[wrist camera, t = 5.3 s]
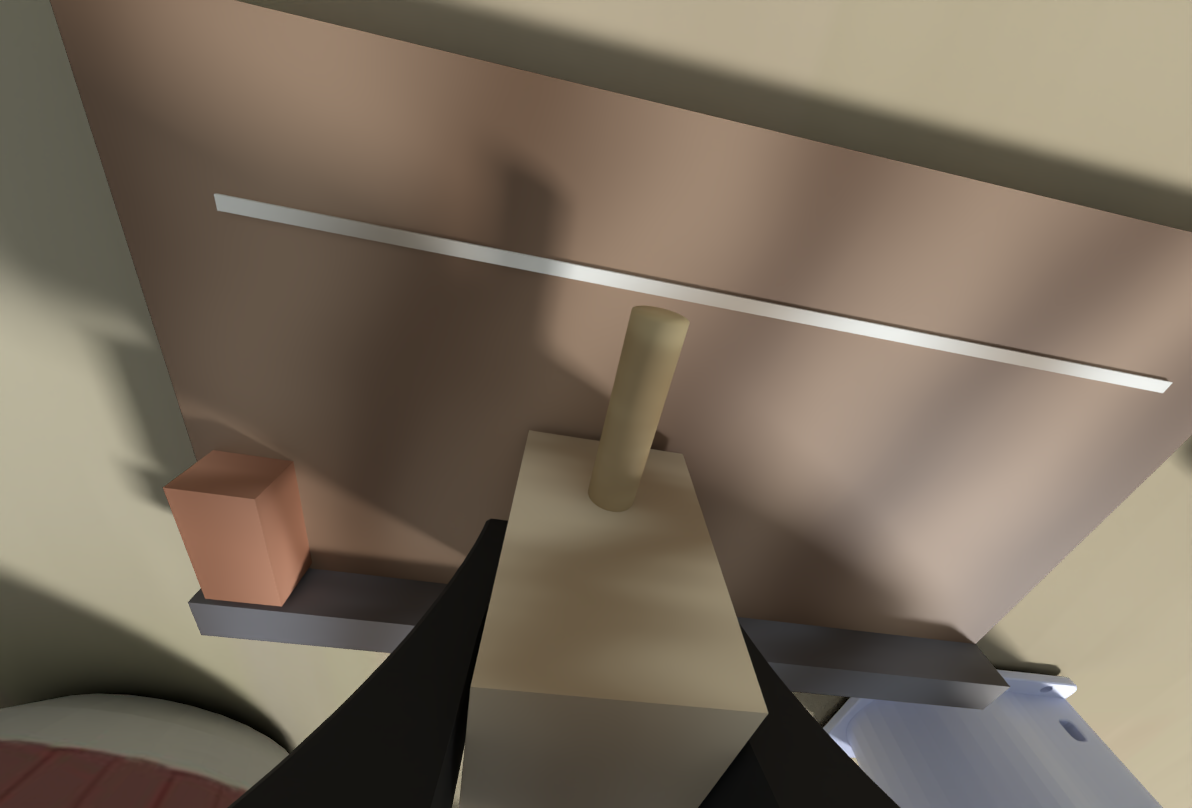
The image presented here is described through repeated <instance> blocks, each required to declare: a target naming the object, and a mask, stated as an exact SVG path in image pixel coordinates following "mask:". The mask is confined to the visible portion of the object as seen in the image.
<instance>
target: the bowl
mask: <svg viewBox="0 0 1192 808" xmlns="http://www.w3.org/2000/svg"><path fill="white" fill-rule="evenodd" d="M288 755H289V753H288V752H287V751H286V750H285V749H284V748H282V747H281V746H280V745H278V744H277V743H276V742H274V741H273V740H272V739H270V738H269V737H267V736H265V735H264V734H262V733H260V732H258V731H256V730H254V729H253V728H251V727H249V726H247V725H245V724H242V723H240V722H237V721H235V720H232V719H230V718H228V717H225V716H223V715H220V714H217V713H213V712H210V711H207V710H204V709H200V708H197V707H194V706H190V705H185V704H181V703H176V702H172V701H167V700H163V699H156V698H149V697H141V696H134V695H119V694H85V695H70V696H65V697H60V698H55V699H49V700H44V701H39V702H33V703H28V704H23V705H18V706H12V707H7V708H2V709H0V808H227V807H229V806H230V805H231V804H232V803H233V802H235V801H236V800H237V799H238V798H239V797H240V796H242V795H243V794H244V793H245V792H246V791H247V790H249V789H250V788H251V787H252V786H253V785H254V784H256V783H257V782H258V781H259V780H260V779H262V778H263V777H264V776H265V775H266V774H267V773H269V772H270V771H271V770H272V769H273V768H274V767H275V766H277V765H278V764H279V763H280V762H281V761H282V760H283V759H284V758H286V757H287V756H288Z"/></svg>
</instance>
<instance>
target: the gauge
mask: <svg viewBox="0 0 1192 808" xmlns="http://www.w3.org/2000/svg"><path fill="white" fill-rule="evenodd" d="M689 323H690V322H689V320H688V319H687V318H685V317H684V316H682V315H680V314H678V313H675V312H673V311H670V310H667V309H663V308H659V307H653V306H634V307H633V308H632V310H631V314H630V318H629V322H628V327H627V331H626V335H625V339H624V343H623V347H622V352H621V356H620V360H619V364H618V368H617V372H616V376H615V381H614V385H613V389H612V393H611V397H610V401H609V406H608V410H607V414H606V418H605V422H604V426H603V431H602V435H601V439H600V441H596V440H589V439H583V438H576V437H570V436H563V435H557V434H551V433H544V432H538V431H531V430H529V433H528V437H527V441H526V446H525V450H524V455H523V459H522V463H521V468H520V472H519V477H518V481H517V485H516V490H515V494H514V498H513V503H512V507H511V512H510V516H509V520H508V525H507V529H506V533H505V538H504V542H503V547H502V551H501V555H500V560H499V564H498V569H497V573H496V577H495V582H494V586H493V590H492V595H491V599H490V604H489V608H488V612H487V617H486V621H485V626H484V630H483V634H482V639H481V643H480V647H479V652H478V656H477V661H476V665H475V669H474V674H473V678H472V683H471V687H470V697H469V708H468V718H467V729H466V739H465V749H464V760H463V770H462V781H461V791H460V801H459V808H698V807H699V806H700V804H701V803H702V802H703V800H704V799H705V798H706V796H707V795H708V794H709V792H710V791H711V790H712V788H713V787H714V786H715V784H716V783H717V782H718V780H719V779H720V777H721V776H722V775H723V773H724V772H725V771H726V769H727V768H728V767H729V765H730V764H731V763H732V761H733V760H734V759H735V757H736V756H737V755H738V753H739V752H740V751H741V749H742V748H743V747H744V745H745V744H746V743H747V741H748V740H749V739H750V737H751V736H752V735H753V733H754V732H755V731H756V729H757V728H758V727H759V725H760V724H761V723H762V721H763V720H764V719H765V717H766V716H767V715H768V710H767V707H766V704H765V701H764V698H763V695H762V692H761V689H760V686H759V683H758V680H757V677H756V674H755V671H754V668H753V665H752V662H751V659H750V656H749V653H748V650H747V647H746V644H745V641H744V638H743V635H742V632H741V629H740V626H739V623H738V620H737V617H736V614H735V610H734V607H733V604H732V601H731V598H730V595H729V592H728V589H727V586H726V583H725V580H724V577H723V574H722V571H721V568H720V565H719V562H718V559H717V556H716V553H715V550H714V547H713V544H712V541H711V538H710V535H709V532H708V529H707V526H706V523H705V520H704V517H703V514H702V511H701V508H700V505H699V502H698V499H697V496H696V493H695V489H694V486H693V483H692V480H691V477H690V474H689V471H688V468H687V465H686V462H685V459H684V456H683V454H680V453H673V452H667V451H660V450H654V449H650V448H651V445H652V442H653V439H654V436H655V432H656V429H657V426H658V423H659V420H660V416H661V413H662V410H663V407H664V404H665V400H666V397H667V394H668V391H669V388H670V384H671V381H672V378H673V375H674V372H675V368H676V365H677V362H678V359H679V356H680V352H681V349H682V346H683V343H684V339H685V336H686V333H687V330H688V327H689Z"/></svg>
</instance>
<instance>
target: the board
mask: <svg viewBox="0 0 1192 808" xmlns="http://www.w3.org/2000/svg"><path fill="white" fill-rule="evenodd" d="M50 3H51V6H52V9H53V12H54V15H55V18H56V21H57V24H58V28H59V31H60V34H61V37H62V40H63V43H64V46H65V50H66V53H67V56H68V59H69V62H70V65H71V68H72V71H73V75H74V78H75V81H76V84H77V87H78V90H79V93H80V97H81V100H82V103H83V106H84V109H85V112H86V115H87V118H88V122H89V125H90V128H91V131H92V134H93V137H94V140H95V144H96V147H97V150H98V153H99V156H100V159H101V162H102V165H103V169H104V172H105V175H106V178H107V181H108V184H109V187H110V191H111V194H112V197H113V200H114V203H115V206H116V209H117V212H118V216H119V219H120V222H121V225H122V228H123V231H124V234H125V238H126V241H127V244H128V247H129V250H130V253H131V256H132V259H133V263H134V266H135V269H136V272H137V275H138V278H139V281H140V285H141V288H142V291H143V294H144V297H145V300H146V303H147V306H148V310H149V313H150V316H151V319H152V322H153V325H154V328H155V332H156V335H157V338H158V341H159V344H160V347H161V350H162V353H163V357H164V360H165V363H166V366H167V369H168V372H169V375H170V379H171V382H172V385H173V388H174V391H175V394H176V397H177V400H178V404H179V407H180V410H181V413H182V416H183V419H184V422H185V426H186V429H187V432H188V435H189V438H190V441H191V444H192V447H193V451H194V454H195V457H196V460H197V462H196V463H195V464H194V465H192V466H191V467H190V468H188V469H187V470H186V471H184V472H183V473H182V474H180V475H179V476H178V477H176V478H175V479H174V480H172V481H171V482H170V483H168V484H167V485H166V486H164V487H163V489H164V492H165V495H166V497H167V500H168V503H169V505H170V508H171V510H172V513H173V516H174V518H175V521H176V524H177V526H178V529H179V531H180V534H181V537H182V539H183V542H184V545H185V547H186V550H187V552H188V555H189V558H190V560H191V563H192V566H193V568H194V571H195V573H196V576H197V579H198V581H199V584H200V587H201V589H200V590H199V591H198V592H197V593H196V594H195V595H194V596H193V597H192V598H191V600H190V601H189V602H188V604H189V606H190V609H191V611H192V614H193V616H194V618H195V621H196V623H197V626H198V628H199V630H200V633H201V635H208V636H218V637H228V638H239V639H249V640H260V641H270V642H281V643H291V644H302V645H312V646H322V647H333V648H343V649H354V650H364V651H375V652H385V653H392V652H393V651H394V650H395V648H396V647H397V646H398V645H399V644H400V643H401V642H402V641H403V639H404V638H405V637H406V636H407V635H408V634H409V632H410V631H411V630H412V629H413V628H414V627H415V625H416V624H417V623H418V622H419V620H420V619H421V618H422V617H423V615H424V614H425V613H426V612H427V610H428V609H429V608H430V606H431V605H432V604H433V603H434V601H435V600H436V599H437V598H438V596H439V595H440V594H441V592H442V591H443V590H444V588H445V587H446V586H447V584H448V583H449V581H450V580H451V578H452V577H453V576H454V574H455V573H456V571H457V570H458V568H459V567H460V566H461V564H462V563H463V561H464V560H465V558H466V556H467V555H468V553H469V552H470V550H471V549H472V547H473V545H474V544H475V542H476V540H477V538H478V537H479V535H480V533H481V531H482V529H483V527H484V525H485V522H486V521H487V520H489V519H491V518H492V519H500V520H507V521H508V520H509V516H510V512H511V507H512V503H513V498H514V494H515V490H516V485H517V481H518V477H519V472H520V468H521V463H522V459H523V455H524V450H525V446H526V441H527V437H528V433H529V430H531V431H538V432H544V433H551V434H557V435H563V436H570V437H576V438H583V439H589V440H596V441H600V439H601V435H602V431H603V426H604V422H605V418H606V414H607V410H608V406H609V401H610V397H611V393H612V389H613V385H614V381H615V376H616V372H617V368H618V364H619V360H620V356H621V352H622V347H623V343H624V339H625V335H626V331H627V327H628V322H629V318H630V314H631V310H632V308H633V307H634V306H653V307H659V308H663V309H667V310H670V311H673V312H675V313H678V314H680V315H682V316H684V317H685V318H687V319H688V320H689V322H690V323H689V327H688V330H687V333H686V336H685V339H684V343H683V346H682V349H681V352H680V356H679V359H678V362H677V365H676V368H675V372H674V375H673V378H672V381H671V384H670V388H669V391H668V394H667V397H666V400H665V404H664V407H663V410H662V413H661V416H660V420H659V423H658V426H657V429H656V432H655V436H654V439H653V442H652V445H651V448H650V449H654V450H660V451H667V452H673V453H680V454H683V456H684V459H685V462H686V465H687V468H688V471H689V474H690V477H691V480H692V483H693V486H694V489H695V493H696V496H697V499H698V502H699V505H700V508H701V511H702V514H703V517H704V520H705V523H706V526H707V529H708V532H709V535H710V538H711V541H712V544H713V547H714V550H715V553H716V556H717V559H718V562H719V565H720V568H721V571H722V574H723V577H724V580H725V583H726V586H727V589H728V592H729V595H730V598H731V601H732V604H733V607H734V610H735V614H736V617H737V620H738V621H739V623H740V624H741V626H742V627H743V629H744V630H745V632H746V633H747V634H748V636H749V637H750V639H751V640H752V642H753V643H754V644H755V646H756V647H757V648H758V650H759V651H760V652H761V654H762V655H763V657H764V658H765V659H766V661H767V662H768V663H769V665H770V666H771V667H772V669H773V670H774V671H775V672H776V674H777V675H778V676H779V678H780V679H781V680H782V681H783V682H784V684H785V685H786V686H787V687H788V688H789V690H790V691H792V692H803V693H813V694H824V695H834V696H845V697H855V698H866V699H876V700H886V701H897V702H907V703H918V704H928V705H939V706H949V707H960V708H970V709H980V710H984V709H985V708H986V707H987V706H988V705H989V704H991V703H992V702H993V701H994V700H995V699H997V698H998V697H999V696H1000V695H1001V694H1003V693H1004V692H1005V691H1006V690H1007V689H1009V688H1010V686H1009V685H1008V683H1007V682H1006V681H1005V680H1004V678H1003V677H1002V676H1001V675H1000V673H999V672H998V671H997V670H996V669H995V667H994V666H993V665H992V664H991V662H990V661H989V660H988V659H987V658H986V656H985V655H984V654H983V653H982V651H981V650H980V649H979V648H978V646H977V645H976V643H977V642H978V641H979V640H980V639H981V638H982V637H983V636H984V635H985V634H986V633H987V632H988V631H990V630H991V629H992V628H993V627H994V626H995V625H996V624H997V623H998V622H999V621H1000V620H1001V619H1002V618H1003V617H1004V616H1005V615H1006V614H1007V613H1008V612H1009V611H1010V610H1011V609H1012V608H1013V607H1014V606H1015V605H1016V604H1017V603H1018V602H1020V601H1021V600H1022V599H1023V598H1024V597H1025V596H1026V595H1027V594H1028V593H1029V592H1030V591H1031V590H1032V589H1033V588H1034V587H1035V586H1036V585H1037V584H1038V583H1039V582H1040V581H1041V580H1042V579H1043V578H1044V577H1045V576H1046V575H1047V574H1049V573H1050V572H1051V571H1052V570H1053V569H1054V568H1055V567H1056V566H1057V565H1058V564H1059V563H1060V562H1061V561H1062V560H1063V559H1064V558H1065V557H1066V556H1067V555H1068V554H1069V553H1070V552H1071V551H1072V550H1073V549H1074V548H1075V547H1076V546H1077V545H1079V544H1080V543H1081V542H1082V541H1083V540H1084V539H1085V538H1086V537H1087V536H1088V535H1089V534H1090V533H1091V532H1092V531H1093V530H1094V529H1095V528H1096V527H1097V526H1098V525H1099V524H1100V523H1101V522H1102V521H1103V520H1104V519H1105V518H1106V517H1108V516H1109V515H1110V514H1111V513H1112V512H1113V511H1114V510H1115V509H1116V508H1117V507H1118V506H1119V505H1120V504H1121V503H1122V502H1123V501H1124V500H1125V499H1126V498H1127V497H1128V496H1129V495H1130V494H1131V493H1132V492H1133V491H1134V490H1135V489H1136V488H1138V487H1139V486H1140V485H1141V484H1142V483H1143V482H1144V481H1145V480H1146V479H1147V478H1148V477H1149V476H1150V475H1151V474H1152V473H1153V472H1154V471H1155V470H1156V469H1157V468H1158V467H1159V466H1160V465H1161V464H1162V463H1163V462H1164V461H1165V460H1167V459H1168V458H1169V457H1170V456H1171V455H1172V454H1173V453H1174V452H1175V451H1176V450H1177V449H1178V448H1179V447H1180V446H1181V445H1182V444H1183V443H1184V442H1185V441H1186V440H1187V439H1188V438H1189V437H1190V436H1191V435H1192V232H1189V231H1184V230H1180V229H1176V228H1172V227H1168V226H1164V225H1160V224H1156V223H1151V222H1147V221H1143V220H1139V219H1135V218H1131V217H1127V216H1123V215H1118V214H1114V213H1110V212H1106V211H1102V210H1098V209H1094V208H1090V207H1085V206H1081V205H1077V204H1073V203H1069V202H1065V201H1061V200H1057V199H1052V198H1048V197H1044V196H1040V195H1036V194H1032V193H1028V192H1024V191H1019V190H1015V189H1011V188H1007V187H1003V186H999V185H995V184H991V183H986V182H982V181H978V180H974V179H970V178H966V177H962V176H958V175H953V174H949V173H945V172H941V171H937V170H933V169H929V168H925V167H920V166H916V165H912V164H908V163H904V162H900V161H896V160H892V159H887V158H883V157H879V156H875V155H871V154H867V153H863V152H859V151H854V150H850V149H846V148H842V147H838V146H834V145H830V144H826V143H821V142H817V141H813V140H809V139H805V138H801V137H797V136H793V135H788V134H784V133H780V132H776V131H772V130H768V129H764V128H760V127H755V126H751V125H747V124H743V123H739V122H735V121H731V120H727V119H722V118H718V117H714V116H710V115H706V114H702V113H698V112H694V111H689V110H685V109H681V108H677V107H673V106H669V105H665V104H661V103H656V102H652V101H648V100H644V99H640V98H636V97H632V96H628V95H624V94H619V93H615V92H611V91H607V90H603V89H599V88H595V87H591V86H586V85H582V84H578V83H574V82H570V81H566V80H562V79H558V78H553V77H549V76H545V75H541V74H537V73H533V72H529V71H525V70H520V69H516V68H512V67H508V66H504V65H500V64H496V63H492V62H487V61H483V60H479V59H475V58H471V57H467V56H463V55H459V54H454V53H450V52H446V51H442V50H438V49H434V48H430V47H426V46H421V45H417V44H413V43H409V42H405V41H401V40H397V39H393V38H388V37H384V36H380V35H376V34H372V33H368V32H364V31H360V30H355V29H351V28H347V27H343V26H339V25H335V24H331V23H327V22H322V21H318V20H314V19H310V18H306V17H302V16H298V15H294V14H289V13H285V12H281V11H277V10H273V9H269V8H265V7H261V6H256V5H252V4H248V3H244V2H240V1H236V0H50Z"/></svg>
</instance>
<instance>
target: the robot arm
mask: <svg viewBox="0 0 1192 808" xmlns="http://www.w3.org/2000/svg"><path fill="white" fill-rule="evenodd" d="M507 525H508V521H507V520H500V519H492V518H491V519H489V520H487V521H486V522H485V525H484V527H483V529H482V531H481V533H480V535H479V537H478V538H477V540H476V542H475V544H474V545H473V547H472V549H471V550H470V552H469V553H468V555H467V556H466V558H465V560H464V561H463V563H462V564H461V566H460V567H459V568H458V570H457V571H456V573H455V574H454V576H453V577H452V578H451V580H450V581H449V583H448V584H447V586H446V587H445V588H444V590H443V591H442V592H441V594H440V595H439V596H438V598H437V599H436V600H435V601H434V603H433V604H432V605H431V606H430V608H429V609H428V610H427V612H426V613H425V614H424V615H423V617H422V618H421V619H420V620H419V622H418V623H417V624H416V625H415V627H414V628H413V629H412V630H411V631H410V632H409V634H408V635H407V636H406V637H405V638H404V639H403V641H402V642H401V643H400V644H399V645H398V646H397V647H396V648H395V650H394V651H393V652H392V653H391V654H390V655H389V656H388V657H387V659H386V660H385V661H384V662H383V663H382V664H381V665H380V666H379V667H378V668H377V669H376V670H375V671H374V672H373V673H372V674H371V675H370V677H369V678H368V679H367V680H366V681H365V682H364V683H363V684H362V685H361V686H360V687H359V688H358V689H357V690H356V691H355V692H354V693H353V694H352V695H351V696H350V697H349V698H348V699H347V700H346V701H345V702H344V703H343V704H342V705H341V706H340V707H339V708H338V709H337V710H336V711H335V712H334V713H333V714H332V715H331V716H330V717H329V718H327V719H326V720H325V721H324V722H323V723H322V724H321V725H320V726H319V727H318V728H317V729H316V730H315V731H314V732H312V733H311V734H310V735H309V736H308V737H307V738H306V739H305V740H304V741H303V742H302V743H301V744H300V745H298V746H297V747H296V748H295V749H294V750H293V751H292V752H291V753H290V754H289V755H288V756H287V757H286V758H284V759H283V760H282V761H281V762H280V763H279V764H278V765H277V766H275V767H274V768H273V769H272V770H271V771H270V772H269V773H267V774H266V775H265V776H264V777H263V778H262V779H260V780H259V781H258V782H257V783H256V784H254V785H253V786H252V787H251V788H250V789H249V790H247V791H246V792H245V793H244V794H243V795H242V796H240V797H239V798H238V799H237V800H236V801H235V802H233V803H232V804H231V805H230V806H229V807H227V808H452V804H453V799H454V794H455V789H456V784H457V779H458V774H459V770H460V765H461V760H462V755H463V750H464V745H465V739H466V729H467V718H468V708H469V697H470V687H471V683H472V678H473V674H474V669H475V665H476V661H477V656H478V652H479V647H480V643H481V639H482V634H483V630H484V626H485V621H486V617H487V612H488V608H489V604H490V599H491V595H492V590H493V586H494V582H495V577H496V573H497V569H498V564H499V560H500V555H501V551H502V547H503V542H504V538H505V533H506V529H507ZM738 623H739V621H738ZM739 626H740V629H741V632H742V635H743V638H744V641H745V644H746V647H747V650H748V653H749V656H750V659H751V662H752V665H753V668H754V671H755V674H756V677H757V680H758V683H759V686H760V689H761V692H762V695H763V698H764V701H765V704H766V707H767V710H768V715H767V716H766V717H765V719H764V720H763V721H762V723H761V724H760V725H759V727H758V728H757V729H756V731H755V732H754V733H753V735H752V736H751V737H750V739H749V740H748V741H747V743H746V744H745V745H744V747H743V748H742V749H741V751H740V752H739V753H738V755H737V756H736V757H735V759H734V760H733V761H732V763H731V764H730V765H729V767H728V768H727V769H726V771H725V772H724V773H723V775H722V776H721V777H720V779H719V780H718V782H717V783H716V784H715V786H714V787H713V788H712V790H711V791H710V792H709V794H708V795H707V796H706V798H705V799H704V800H703V802H702V803H701V804H700V806H699V807H698V808H1163V807H1162V806H1161V805H1160V804H1159V803H1158V802H1157V801H1156V800H1155V799H1154V797H1153V796H1152V795H1151V794H1150V793H1149V792H1148V791H1147V790H1146V789H1145V787H1144V786H1143V785H1142V784H1141V783H1140V782H1139V781H1138V780H1137V779H1136V777H1135V776H1134V775H1133V774H1132V773H1131V772H1130V771H1129V770H1128V768H1127V767H1126V766H1125V765H1124V764H1123V763H1122V762H1121V761H1120V760H1119V758H1118V757H1117V756H1116V755H1115V754H1114V753H1113V752H1112V751H1111V750H1110V748H1109V747H1108V746H1107V745H1106V744H1105V743H1104V742H1103V741H1102V740H1101V738H1100V737H1099V736H1098V735H1097V734H1096V733H1095V732H1094V731H1093V730H1092V728H1091V727H1090V726H1089V725H1088V724H1087V723H1086V722H1085V721H1084V720H1083V718H1082V717H1081V716H1080V715H1079V714H1078V713H1077V712H1076V711H1075V710H1074V708H1073V707H1072V706H1071V705H1070V704H1069V703H1068V702H1067V701H1066V700H1065V699H1066V698H1067V697H1069V696H1070V695H1071V694H1073V693H1074V692H1075V691H1076V690H1077V686H1076V685H1075V684H1074V683H1073V682H1072V681H1071V680H1070V679H1069V678H1067V677H1062V676H1053V675H1043V674H1034V673H1025V672H1015V671H1006V670H997V669H996V670H997V671H998V672H999V673H1000V675H1001V676H1002V677H1003V678H1004V680H1005V681H1006V682H1007V683H1008V685H1009V686H1010V688H1009V689H1007V690H1006V691H1005V692H1004V693H1003V694H1001V695H1000V696H999V697H998V698H997V699H995V700H994V701H993V702H992V703H991V704H989V705H988V706H987V707H986V708H985V709H984V710H980V709H970V708H960V707H949V706H939V705H928V704H918V703H907V702H897V701H886V700H876V699H866V698H855V697H850V698H849V699H848V700H847V702H846V703H845V704H844V705H843V706H842V707H841V708H840V709H839V711H838V712H837V713H836V714H835V715H834V716H833V717H832V718H831V720H830V721H829V722H828V723H827V724H826V725H825V726H824V727H823V728H822V727H821V726H820V725H819V724H818V722H817V721H816V720H815V719H814V718H813V717H812V716H811V714H810V713H809V712H808V711H807V710H806V709H805V708H804V706H803V705H802V704H801V703H800V702H799V700H798V699H797V698H796V697H795V696H794V694H793V693H792V692H791V691H790V690H789V688H788V687H787V686H786V685H785V684H784V682H783V681H782V680H781V679H780V678H779V676H778V675H777V674H776V672H775V671H774V670H773V669H772V667H771V666H770V665H769V663H768V662H767V661H766V659H765V658H764V657H763V655H762V654H761V652H760V651H759V650H758V648H757V647H756V646H755V644H754V643H753V642H752V640H751V639H750V637H749V636H748V634H747V633H746V632H745V630H744V629H743V627H742V626H741V624H740V623H739ZM850 757H853V758H856V759H857V762H858V764H859V766H860V767H859V766H858V765H857V764H856V763H855V762H854V761H853V760H852V759H851V758H850Z"/></svg>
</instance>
